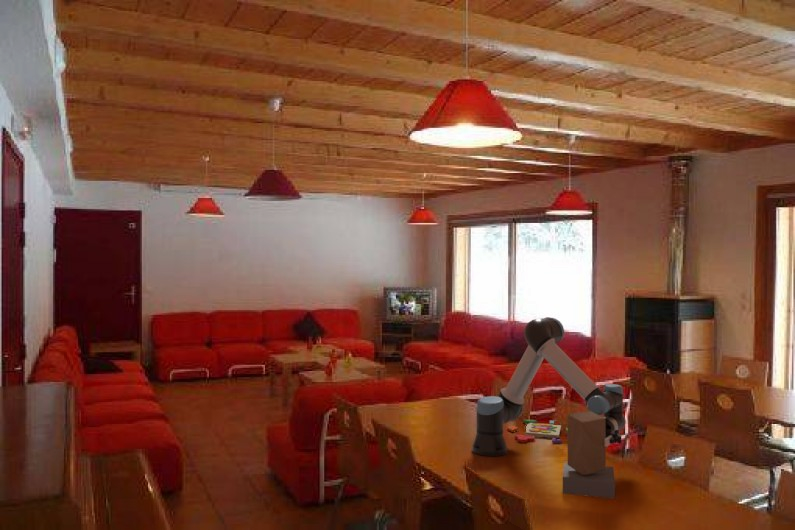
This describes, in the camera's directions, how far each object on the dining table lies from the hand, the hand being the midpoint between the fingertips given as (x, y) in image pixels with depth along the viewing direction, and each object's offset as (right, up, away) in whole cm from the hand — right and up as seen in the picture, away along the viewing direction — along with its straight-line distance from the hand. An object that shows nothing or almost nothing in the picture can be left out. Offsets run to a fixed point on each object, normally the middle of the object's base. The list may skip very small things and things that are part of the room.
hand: (586, 439), depth 238 cm
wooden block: (0, -11, +1) cm, 11 cm away
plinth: (+1, -19, +2) cm, 19 cm away
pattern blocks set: (+1, -19, +79) cm, 81 cm away
